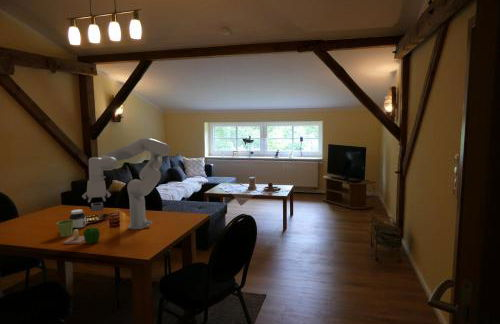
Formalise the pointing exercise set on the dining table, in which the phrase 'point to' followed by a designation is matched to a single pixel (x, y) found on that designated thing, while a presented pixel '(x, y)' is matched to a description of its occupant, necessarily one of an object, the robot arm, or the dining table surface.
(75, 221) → the spread jar
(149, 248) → the dining table surface
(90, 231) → the bell pepper
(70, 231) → the plant pot
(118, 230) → the dining table surface
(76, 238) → the keeper
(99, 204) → the dark grey rectangular frame
